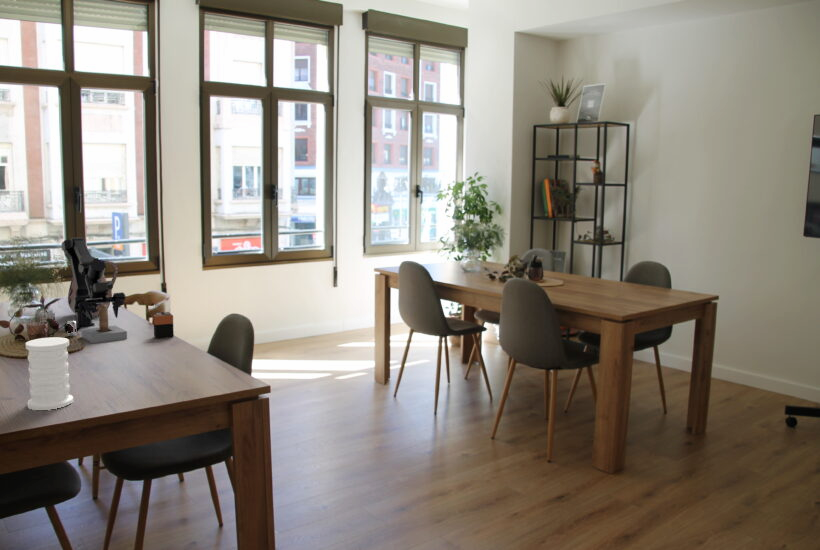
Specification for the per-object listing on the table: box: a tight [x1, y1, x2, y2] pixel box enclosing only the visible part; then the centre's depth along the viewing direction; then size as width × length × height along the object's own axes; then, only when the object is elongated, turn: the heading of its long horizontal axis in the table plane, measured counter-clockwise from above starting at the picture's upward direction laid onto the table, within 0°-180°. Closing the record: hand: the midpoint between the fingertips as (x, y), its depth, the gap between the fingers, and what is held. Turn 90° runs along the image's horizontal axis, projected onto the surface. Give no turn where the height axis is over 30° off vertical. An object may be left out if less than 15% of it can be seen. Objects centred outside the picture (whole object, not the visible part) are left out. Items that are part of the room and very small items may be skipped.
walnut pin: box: [98, 305, 109, 332], centre depth 277 cm, size 3×3×13 cm
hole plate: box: [81, 325, 128, 344], centre depth 278 cm, size 13×13×3 cm
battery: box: [153, 311, 175, 340], centre depth 281 cm, size 4×7×10 cm, turn 121°
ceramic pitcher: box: [67, 259, 119, 317], centre depth 318 cm, size 18×21×25 cm
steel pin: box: [66, 320, 78, 337], centre depth 279 cm, size 3×3×6 cm
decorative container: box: [25, 336, 74, 411], centre depth 198 cm, size 12×12×18 cm
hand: (104, 318), depth 276 cm, fingers open, 9 cm apart
